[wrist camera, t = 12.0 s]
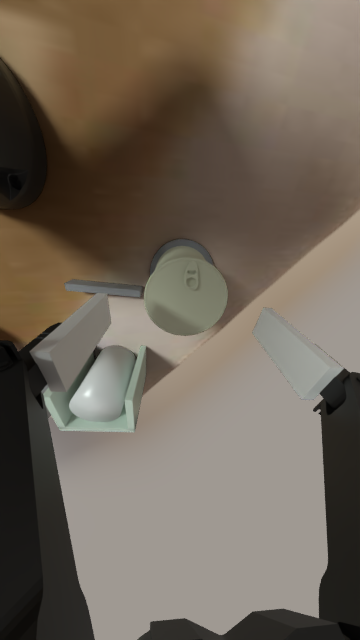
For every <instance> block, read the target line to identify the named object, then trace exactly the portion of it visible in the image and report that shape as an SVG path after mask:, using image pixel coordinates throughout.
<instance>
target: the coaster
mask: <svg viewBox="0 0 360 640" xmlns="http://www.w3.org/2000/svg"><path fill="white" fill-rule="evenodd" d="M177 246H187V247H191V248H194V249H195V250H197V251H198V252H200V253H201V254H202V255H203V257H204V258H205V260H206V261H207V262H208V263H210V264H212V265H213V262H212V259H211V257H210V255H209V253H208V252H207V251H206V249H205V248H204V247H202V246H201V245H200V244H198V243H196V242H194V241H192V240H187V239H177V240H173V241H170V242H168V243H166V244H165V245H163V246H162V247H161V248H160V249H159V250H158V251H157V253H156V254H155V256H154V258H153V260H152V263H151V268H150V276H151V275H152V273H153V272H154V271H155V269H156V265H157V262H158V260H159V259H160V257H161V256H162V255H163V254H164V253H165V252H166V251H167V250H169V249H171V248H174V247H177Z"/></svg>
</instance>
